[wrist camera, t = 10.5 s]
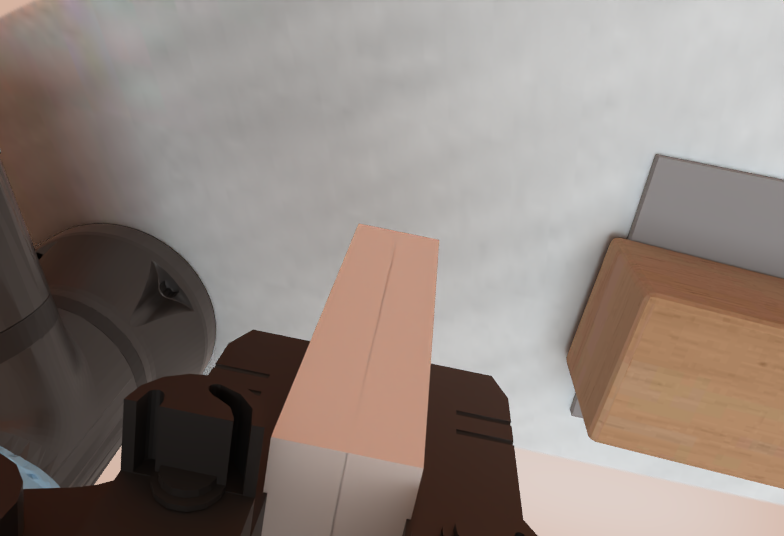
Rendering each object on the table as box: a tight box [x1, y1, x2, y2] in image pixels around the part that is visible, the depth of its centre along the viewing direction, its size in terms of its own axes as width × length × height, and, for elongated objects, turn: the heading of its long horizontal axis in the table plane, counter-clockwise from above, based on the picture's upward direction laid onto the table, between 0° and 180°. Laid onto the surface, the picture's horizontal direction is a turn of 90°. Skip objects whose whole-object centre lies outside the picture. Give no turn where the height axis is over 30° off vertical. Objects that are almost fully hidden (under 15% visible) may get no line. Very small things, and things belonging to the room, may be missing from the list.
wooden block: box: [566, 238, 784, 489], centre depth 44 cm, size 10×10×20 cm
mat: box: [570, 154, 784, 418], centre depth 49 cm, size 16×20×1 cm
